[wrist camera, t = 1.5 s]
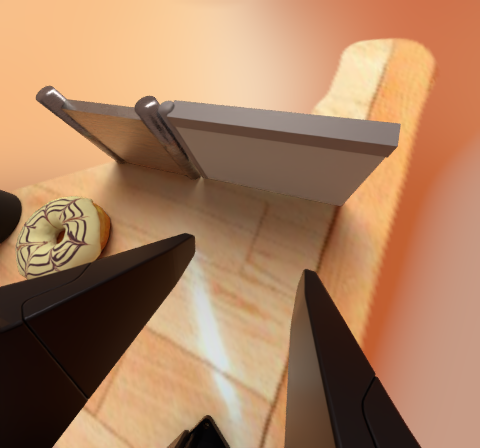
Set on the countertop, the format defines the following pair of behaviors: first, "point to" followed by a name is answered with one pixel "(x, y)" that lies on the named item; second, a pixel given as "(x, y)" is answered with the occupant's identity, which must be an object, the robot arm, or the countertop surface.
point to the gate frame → (124, 131)
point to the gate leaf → (281, 148)
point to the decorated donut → (61, 236)
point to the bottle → (8, 213)
